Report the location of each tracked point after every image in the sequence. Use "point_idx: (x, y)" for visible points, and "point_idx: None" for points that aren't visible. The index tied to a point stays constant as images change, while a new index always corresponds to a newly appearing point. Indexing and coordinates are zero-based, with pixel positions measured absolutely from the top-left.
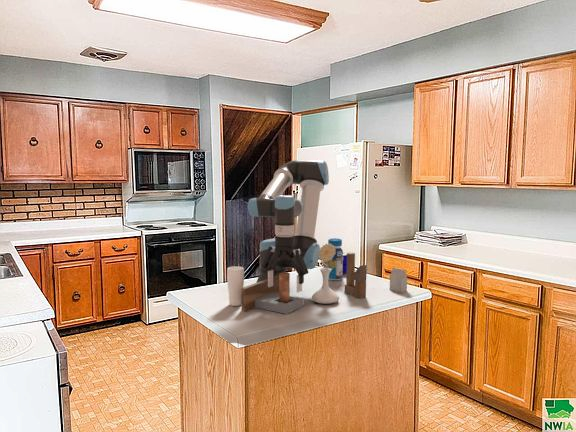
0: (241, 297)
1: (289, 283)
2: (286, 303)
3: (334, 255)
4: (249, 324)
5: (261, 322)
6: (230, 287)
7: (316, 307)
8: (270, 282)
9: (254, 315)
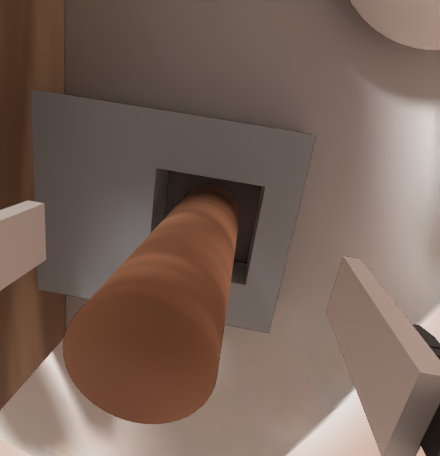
0: None
1: (227, 277)
2: (245, 286)
3: None
4: (176, 452)
5: (207, 424)
6: None
7: (400, 111)
8: (18, 260)
9: None
